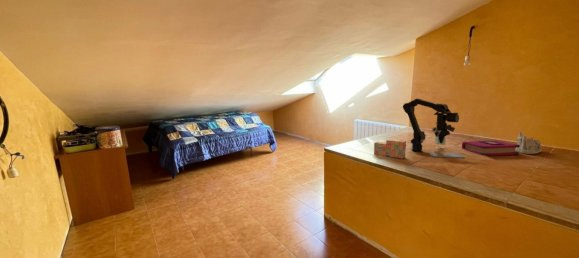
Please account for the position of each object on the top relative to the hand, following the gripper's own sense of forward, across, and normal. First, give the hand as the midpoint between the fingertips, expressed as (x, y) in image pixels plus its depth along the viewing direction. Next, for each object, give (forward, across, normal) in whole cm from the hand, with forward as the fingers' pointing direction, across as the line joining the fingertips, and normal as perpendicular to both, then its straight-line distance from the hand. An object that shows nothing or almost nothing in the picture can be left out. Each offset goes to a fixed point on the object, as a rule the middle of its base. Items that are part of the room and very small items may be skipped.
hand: (439, 142), depth 178 cm
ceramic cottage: (+10, +23, -67) cm, 71 cm away
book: (+10, +19, -39) cm, 45 cm away
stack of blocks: (+10, -6, +35) cm, 37 cm away
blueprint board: (+10, 0, -4) cm, 10 cm away
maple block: (+9, 0, 0) cm, 9 cm away
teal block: (+1, 0, 0) cm, 1 cm away
